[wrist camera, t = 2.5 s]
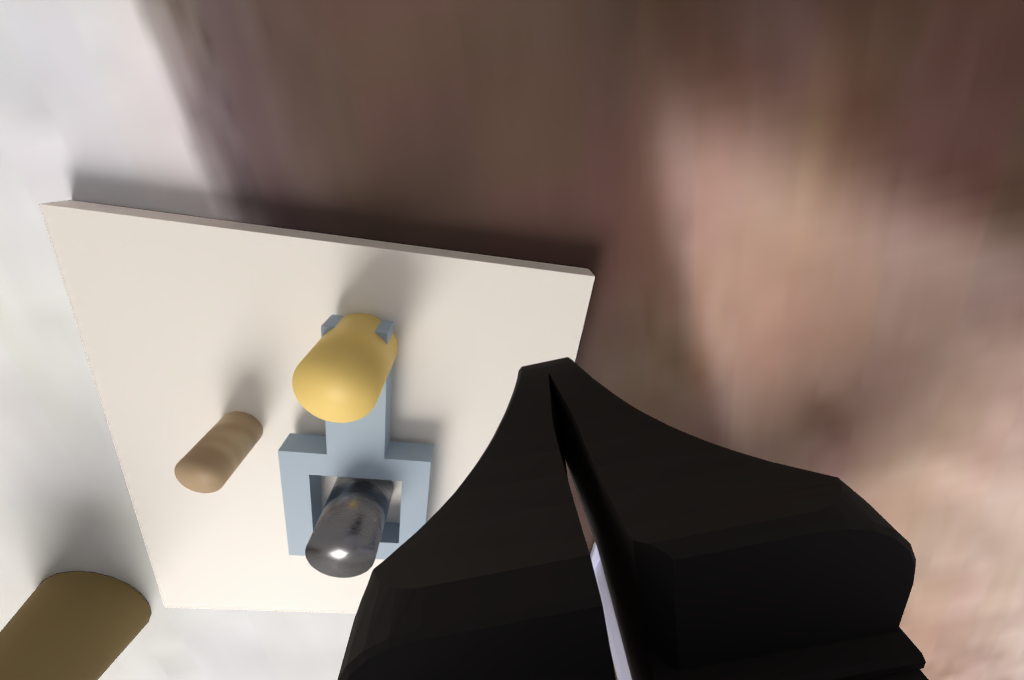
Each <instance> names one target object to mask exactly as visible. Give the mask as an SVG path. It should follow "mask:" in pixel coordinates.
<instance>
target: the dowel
mask: <svg viewBox="0 0 1024 680" xmlns="http://www.w3.org/2000/svg"><path fill="white" fill-rule="evenodd" d="M262 434H263V428H262V425H261V423H260V422H259V421H258V420H257V419H256V418H255V417H254V416H252V415H250V414H248V413H245V412H240V411H234V412H230V413H227V414H226V415H224V416H223V417H222V418H221V419H220V420H219V421H218V422H217V423H216V424H215V425H214V426H213V427H212V428H211V429H210V430H209V431H208V432H207V433H206V435H205V436H204V437H203V438H202V439H201V440H200V441H199V442H198V443H197V444H196V445H195V446H194V447H193V448H192V449H191V450H190V451H189V452H188V453H187V454H186V455H185V456H184V457H183V458H182V459H181V460H180V461H179V462H178V463H177V464H176V466H175V469H174V473H175V476H176V478H177V480H178V481H179V482H180V483H181V484H182V485H183V486H184V487H186V488H188V489H190V490H192V491H195V492H199V493H213V492H216V491H218V490H220V489H221V488H222V487H223V486H224V484H225V483H226V482H227V480H228V479H229V478H230V477H231V475H232V474H233V473H234V471H235V470H236V469H237V468H238V466H239V465H240V464H241V462H242V461H243V460H244V459H245V457H246V456H247V455H248V453H249V452H250V451H251V450H252V448H253V447H254V446H255V444H256V443H257V442H258V441H259V439H260V438H261V436H262Z"/></svg>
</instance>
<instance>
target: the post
mask: <svg viewBox="0 0 1024 680" xmlns="http://www.w3.org/2000/svg"><path fill="white" fill-rule="evenodd" d="M393 491H394V485H393V482H392V480H380V479H365V478H351V477H337V479H336V482H335V484H334V486H333V488H332V490H331V493H330V495H329V497H328V499H327V502H326V504H325V506H324V508H323V510H322V513H321V515H320V517H319V519H318V521H317V524H316V526H315V528H314V530H313V533H312V535H311V537H310V539H309V541H308V544H307V546H306V549H305V556H306V559H307V561H308V562H309V564H310V565H311V566H312V567H313V568H314V569H316V570H317V571H319V572H321V573H323V574H325V575H328V576H332V577H338V578H349V577H355V576H358V575H361V574H363V573H365V572H366V571H368V570H369V569H370V568H371V567H372V566H373V564H374V562H375V558H376V554H377V551H378V547H379V543H380V539H381V536H382V532H383V528H384V525H385V521H386V517H387V513H388V510H389V506H390V502H391V499H392V495H393Z"/></svg>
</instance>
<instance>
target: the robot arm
mask: <svg viewBox="0 0 1024 680" xmlns="http://www.w3.org/2000/svg"><path fill="white" fill-rule="evenodd" d="M565 460H566V462H567V465H568V468H569V471H570V473H571V476H572V479H573V482H574V484H575V487H576V490H577V493H578V495H579V498H580V501H581V503H582V506H583V509H584V512H585V514H586V517H587V520H588V523H589V525H590V528H591V531H592V533H593V537H594V540H595V542H594V545H593V548H592V551H591V554H590V553H589V550H588V547H587V544H586V540H585V537H584V534H583V531H582V527H581V524H580V521H579V517H578V514H577V510H576V507H575V504H574V500H573V497H572V493H571V490H570V486H569V483H568V477H567V470H566V462H565ZM915 566H916V559H915V556H914V553H913V550H912V547H911V544H910V543H909V542H908V541H907V540H906V539H905V538H904V537H903V536H902V535H901V534H899V533H898V532H897V531H896V530H895V529H894V528H893V527H892V526H891V525H890V524H889V523H888V522H887V521H886V520H885V519H884V518H883V517H882V516H881V515H880V514H879V513H878V512H877V511H876V510H875V509H874V508H873V507H872V506H871V505H869V504H868V503H867V502H866V501H865V500H864V499H863V498H862V497H860V496H859V495H858V494H857V493H856V492H854V491H853V490H852V489H851V488H850V487H849V486H847V485H846V484H845V483H844V482H842V481H841V480H840V479H839V478H837V477H833V476H829V475H824V474H820V473H816V472H812V471H807V470H803V469H799V468H794V467H790V466H786V465H782V464H777V463H773V462H769V461H766V460H762V459H759V458H756V457H752V456H749V455H746V454H742V453H739V452H736V451H733V450H730V449H727V448H724V447H721V446H718V445H715V444H712V443H709V442H707V441H704V440H702V439H699V438H697V437H694V436H692V435H689V434H687V433H684V432H682V431H680V430H677V429H675V428H673V427H671V426H668V425H666V424H664V423H662V422H660V421H658V420H656V419H654V418H653V417H651V416H649V415H647V414H645V413H643V412H641V411H639V410H638V409H636V408H634V407H633V406H631V405H630V404H628V403H626V402H625V401H623V400H622V399H620V398H619V397H617V396H616V395H615V394H613V393H612V392H610V391H609V390H608V389H606V388H605V387H604V386H602V385H601V384H600V383H598V382H597V381H596V380H595V379H593V378H592V377H591V376H590V375H589V374H587V373H586V372H585V371H584V370H583V369H582V368H581V367H579V366H578V365H577V364H576V363H575V362H574V361H573V360H572V359H570V358H569V357H565V358H560V359H556V360H551V361H546V362H541V363H537V364H532V365H527V366H522V367H521V368H520V370H519V371H518V377H517V381H516V385H515V388H514V391H513V394H512V397H511V399H510V402H509V404H508V407H507V409H506V412H505V414H504V416H503V418H502V420H501V422H500V424H499V426H498V428H497V430H496V432H495V434H494V436H493V438H492V440H491V441H490V443H489V445H488V447H487V448H486V450H485V451H484V453H483V454H482V456H481V458H480V459H479V461H478V462H477V464H476V465H475V466H474V468H473V469H472V471H471V472H470V473H469V475H468V476H467V477H466V479H465V480H464V481H463V483H462V484H461V485H460V486H459V488H458V489H457V490H456V491H455V493H454V494H453V495H452V496H451V497H450V498H449V499H448V500H447V502H446V503H445V504H444V505H443V506H442V507H441V508H440V509H439V510H438V511H437V512H436V513H435V514H434V515H433V516H432V517H431V518H430V519H429V520H428V521H427V522H426V523H425V524H424V525H423V526H422V527H421V528H420V529H419V530H418V531H417V532H416V533H415V534H414V535H412V536H411V537H410V538H409V539H408V540H407V541H406V542H404V543H403V544H402V545H401V546H400V547H399V548H398V549H396V550H395V551H394V552H393V553H392V554H391V555H390V556H388V557H387V558H386V559H385V560H384V561H383V562H381V563H380V564H379V565H378V566H377V567H375V568H374V569H373V571H372V573H371V576H370V579H369V582H368V584H367V587H366V589H365V592H364V594H363V596H362V599H361V602H360V605H359V607H358V610H357V613H356V616H355V619H354V623H353V626H352V630H351V633H350V637H349V641H348V644H347V648H346V651H345V655H344V659H343V662H342V666H341V670H340V673H339V677H338V680H616V678H615V673H614V667H613V662H614V666H615V670H616V674H617V678H618V680H928V679H927V677H926V676H925V675H924V674H923V673H922V671H921V670H920V669H921V668H924V666H925V663H926V662H925V659H924V657H923V655H922V653H921V652H920V651H919V649H918V648H917V647H916V646H915V645H914V644H913V642H912V641H911V640H910V639H909V638H908V637H907V635H906V634H905V633H904V632H903V631H902V630H901V629H900V627H899V624H900V621H901V618H902V615H903V612H904V609H905V606H906V604H907V601H908V598H909V595H910V592H911V589H912V586H913V581H914V574H915ZM611 654H612V655H611ZM612 658H613V661H612Z"/></svg>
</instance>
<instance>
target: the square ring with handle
mask: <svg viewBox="0 0 1024 680" xmlns="http://www.w3.org/2000/svg"><path fill="white" fill-rule="evenodd" d="M393 331H394V321H386V320H381V319H379V318H377V317H375V316H373V315H369V314H364V313H353V314H348V315H345V316H341V315H331V316H330V317H329V318H328V319H327V320H326V321H325V322H324V323H323V324H322V326H321V339H320V340H319V341H318V342H317V343H316V345H315V346H314V347H313V348H312V349H311V350H310V351H309V353H308V354H307V355H306V356H305V357H304V358H303V359H302V361H301V362H300V363H299V364H298V366H297V367H296V369H295V371H294V373H293V377H292V387H293V391H294V394H295V396H296V398H297V400H298V401H299V403H300V404H301V405H302V406H303V407H304V408H305V409H306V410H307V411H308V412H310V413H311V414H312V415H314V416H316V417H318V418H320V419H323V420H325V425H326V436H320V435H308V434H295V433H290V434H289V435H288V437H287V438H286V440H285V441H284V442H283V444H282V445H281V447H280V448H279V450H278V458H279V467H280V476H281V485H282V495H283V504H284V513H285V522H286V531H287V541H288V550H289V555H298V556H305V549H306V546H307V544H308V541H309V539H310V537H311V535H312V533H313V530H314V528H315V526H316V524H317V521H318V519H319V517H320V515H321V513H322V500H321V483H320V475H321V476H336V477H351V478H365V479H380V480H395V481H402V490H401V511H400V523H392V522H385V525H384V528H383V532H382V536H381V539H380V543H379V547H378V551H377V554H376V558H375V559H384V560H385V559H386V558H387V557H388V556H390V555H391V554H392V553H393V552H394V551H395V550H396V549H398V548H399V547H400V546H401V545H402V544H403V543H404V542H406V541H407V540H408V539H409V538H410V537H411V536H412V535H414V534H415V533H416V532H417V531H418V530H419V529H420V528H421V527H422V526H423V525H424V524H425V523H426V522H427V518H428V506H429V494H430V483H431V471H432V459H433V448H434V444H422V443H409V442H396V441H390V426H391V394H392V365H393V363H394V361H395V358H396V356H397V352H398V343H397V339H396V336H395V334H394V332H393Z"/></svg>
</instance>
